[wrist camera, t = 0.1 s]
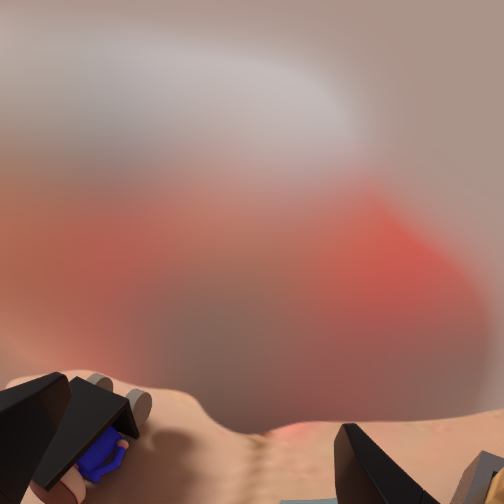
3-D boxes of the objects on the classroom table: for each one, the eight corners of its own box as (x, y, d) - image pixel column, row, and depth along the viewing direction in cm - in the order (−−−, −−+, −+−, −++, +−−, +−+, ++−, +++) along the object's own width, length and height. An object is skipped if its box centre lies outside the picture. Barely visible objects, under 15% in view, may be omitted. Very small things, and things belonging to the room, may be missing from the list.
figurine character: (105, 412, 25) (22, 490, 10) (96, 356, 24) (-15, 430, 9) (158, 434, 24) (83, 534, 9) (154, 378, 23) (46, 486, 8)
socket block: (518, 489, 9) (538, 469, 8) (498, 552, 3) (524, 535, 2) (464, 470, 15) (482, 450, 14) (433, 533, 9) (456, 517, 9)
